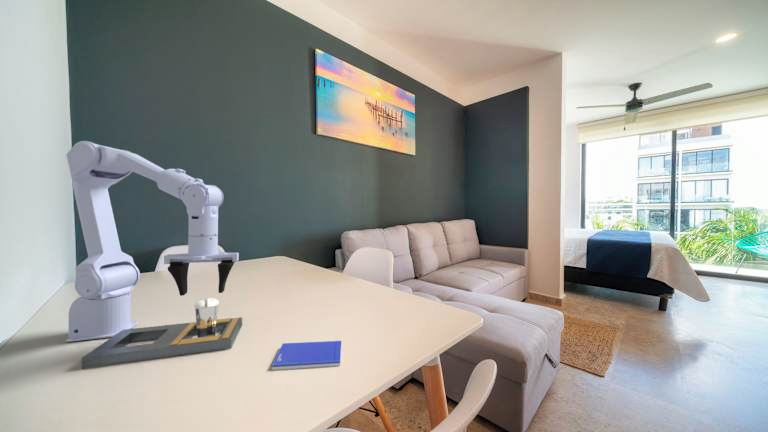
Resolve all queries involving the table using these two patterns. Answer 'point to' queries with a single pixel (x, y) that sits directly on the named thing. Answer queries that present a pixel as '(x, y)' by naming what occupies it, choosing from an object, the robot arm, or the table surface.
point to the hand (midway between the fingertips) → (202, 293)
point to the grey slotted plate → (162, 343)
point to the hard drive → (308, 355)
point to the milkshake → (206, 316)
